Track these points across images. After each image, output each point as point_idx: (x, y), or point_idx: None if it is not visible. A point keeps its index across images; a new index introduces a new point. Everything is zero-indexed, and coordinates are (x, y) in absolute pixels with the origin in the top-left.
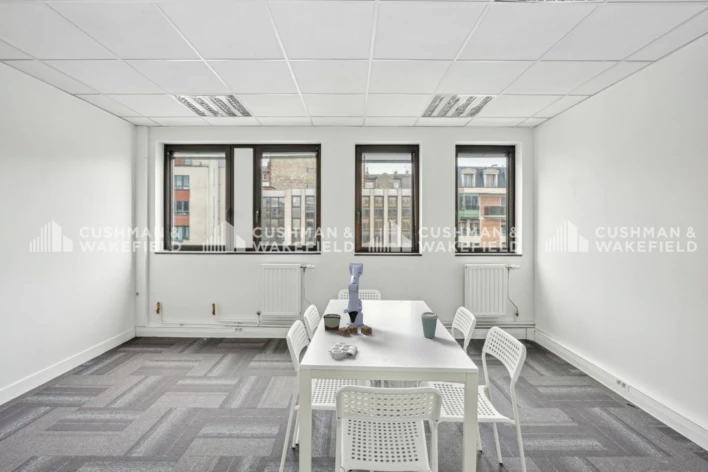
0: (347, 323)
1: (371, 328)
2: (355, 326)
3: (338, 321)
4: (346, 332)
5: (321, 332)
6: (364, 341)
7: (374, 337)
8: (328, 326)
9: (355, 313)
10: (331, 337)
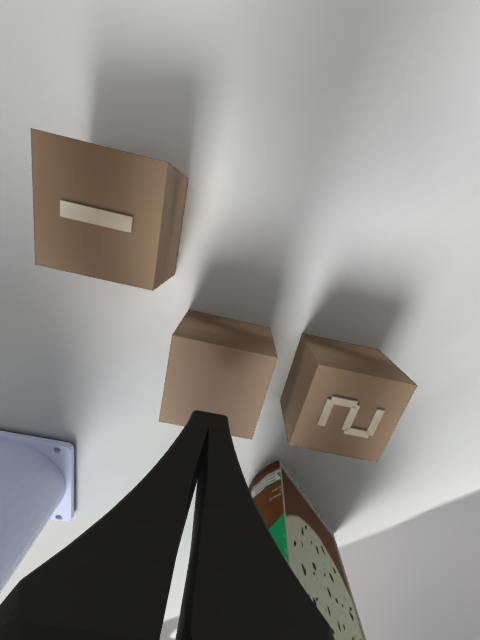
0: (69, 516)
1: (47, 133)
2: (180, 370)
3: (295, 569)
4: (357, 357)
5: (392, 524)
6: (426, 12)
7: (182, 2)
8: (330, 557)
9: (159, 630)
10: (474, 407)
